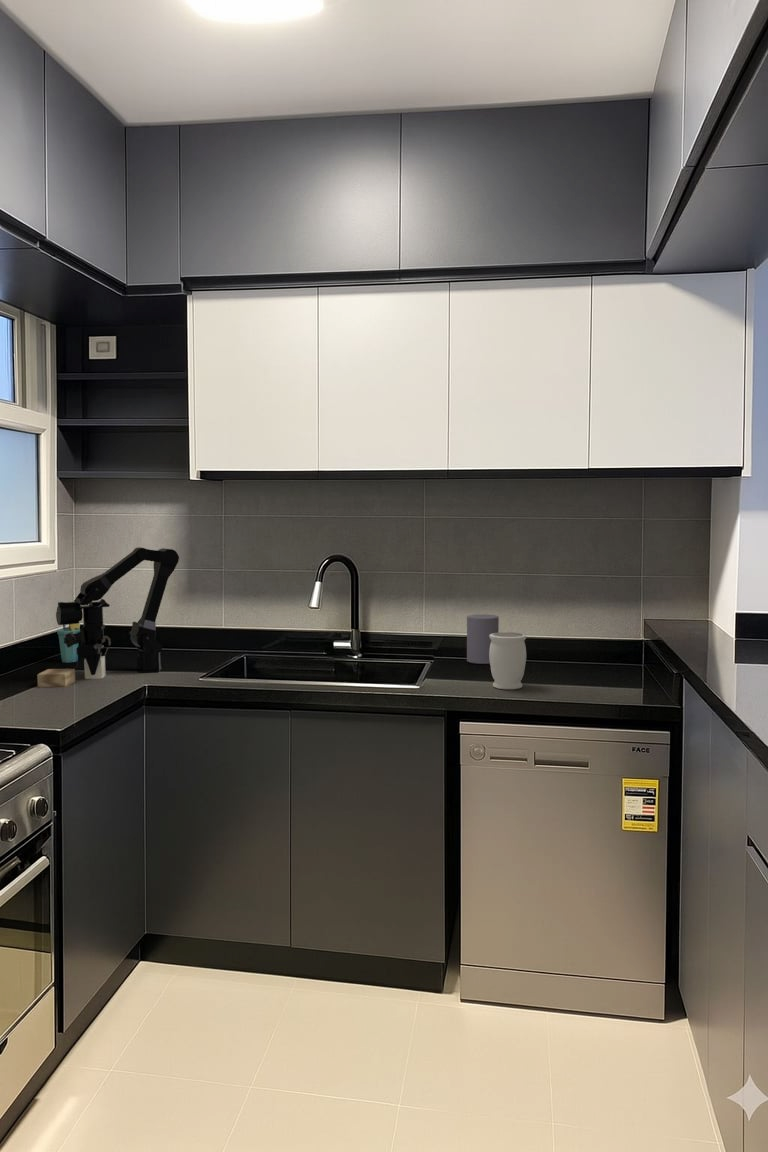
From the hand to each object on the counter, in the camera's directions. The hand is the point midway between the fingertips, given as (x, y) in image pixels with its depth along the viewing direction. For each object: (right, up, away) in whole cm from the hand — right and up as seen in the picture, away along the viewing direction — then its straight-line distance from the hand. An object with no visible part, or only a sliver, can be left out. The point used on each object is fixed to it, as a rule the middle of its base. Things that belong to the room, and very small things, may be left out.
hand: (95, 673), depth 268 cm
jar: (+123, -2, -18) cm, 125 cm away
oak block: (-8, -2, -10) cm, 13 cm away
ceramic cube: (0, -1, 0) cm, 1 cm away
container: (+121, +1, +21) cm, 122 cm away
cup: (-18, +1, +26) cm, 32 cm away
